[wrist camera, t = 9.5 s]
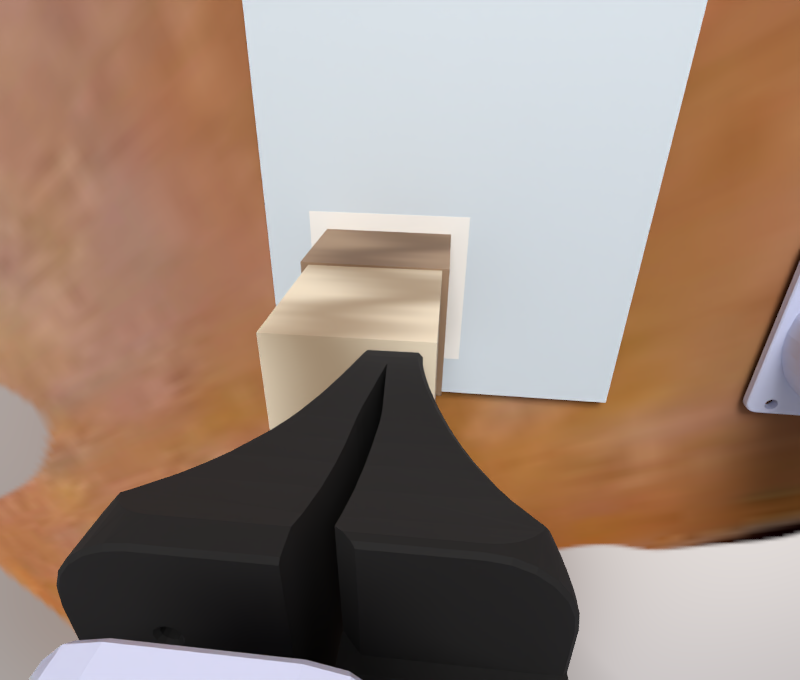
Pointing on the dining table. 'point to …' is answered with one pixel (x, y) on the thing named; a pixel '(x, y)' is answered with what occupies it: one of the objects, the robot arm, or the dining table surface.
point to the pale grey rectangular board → (480, 160)
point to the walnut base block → (389, 261)
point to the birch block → (344, 329)
